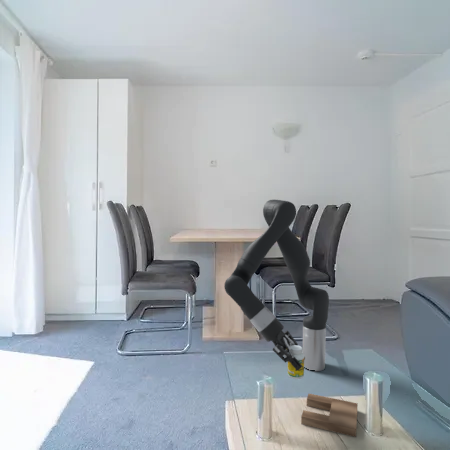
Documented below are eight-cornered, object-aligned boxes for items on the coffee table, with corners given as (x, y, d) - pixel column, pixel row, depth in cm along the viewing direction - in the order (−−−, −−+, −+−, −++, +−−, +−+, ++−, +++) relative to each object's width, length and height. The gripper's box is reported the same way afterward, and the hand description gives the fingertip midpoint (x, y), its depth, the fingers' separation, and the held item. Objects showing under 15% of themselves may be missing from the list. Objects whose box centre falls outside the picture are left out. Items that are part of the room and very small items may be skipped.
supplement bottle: (295, 369, 122) (296, 342, 121) (307, 376, 117) (308, 348, 116) (284, 374, 119) (284, 346, 118) (295, 381, 114) (296, 352, 114)
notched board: (308, 400, 124) (308, 393, 124) (357, 410, 118) (357, 403, 118) (301, 423, 111) (301, 416, 111) (355, 436, 105) (356, 428, 105)
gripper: (268, 324, 113) (306, 367, 109) (279, 310, 126) (313, 349, 122) (252, 338, 115) (288, 381, 112) (265, 323, 128) (297, 361, 125)
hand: (301, 364), depth 117 cm, fingers closed on supplement bottle, 5 cm apart
